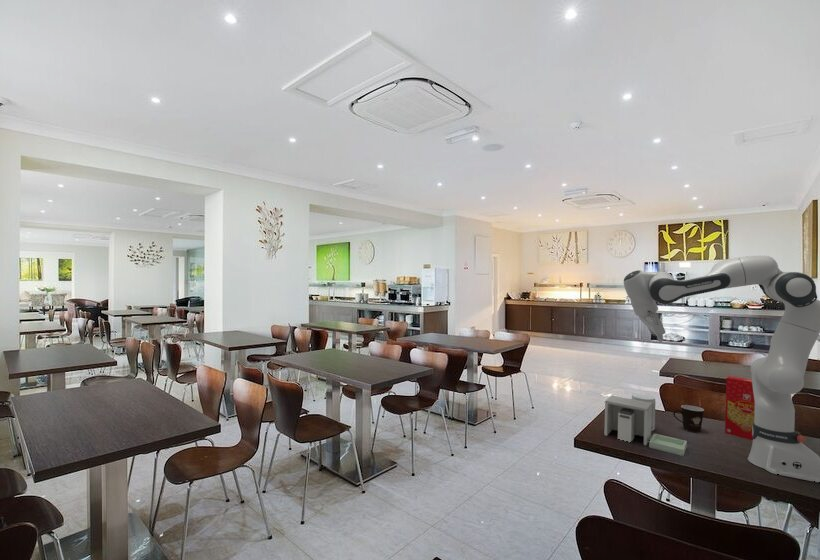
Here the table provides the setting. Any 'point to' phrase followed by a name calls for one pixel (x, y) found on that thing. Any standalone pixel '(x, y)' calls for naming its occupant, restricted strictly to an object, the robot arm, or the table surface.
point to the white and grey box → (626, 424)
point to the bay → (639, 407)
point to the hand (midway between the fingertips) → (657, 336)
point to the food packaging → (739, 407)
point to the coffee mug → (691, 418)
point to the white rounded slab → (651, 400)
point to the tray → (668, 444)
